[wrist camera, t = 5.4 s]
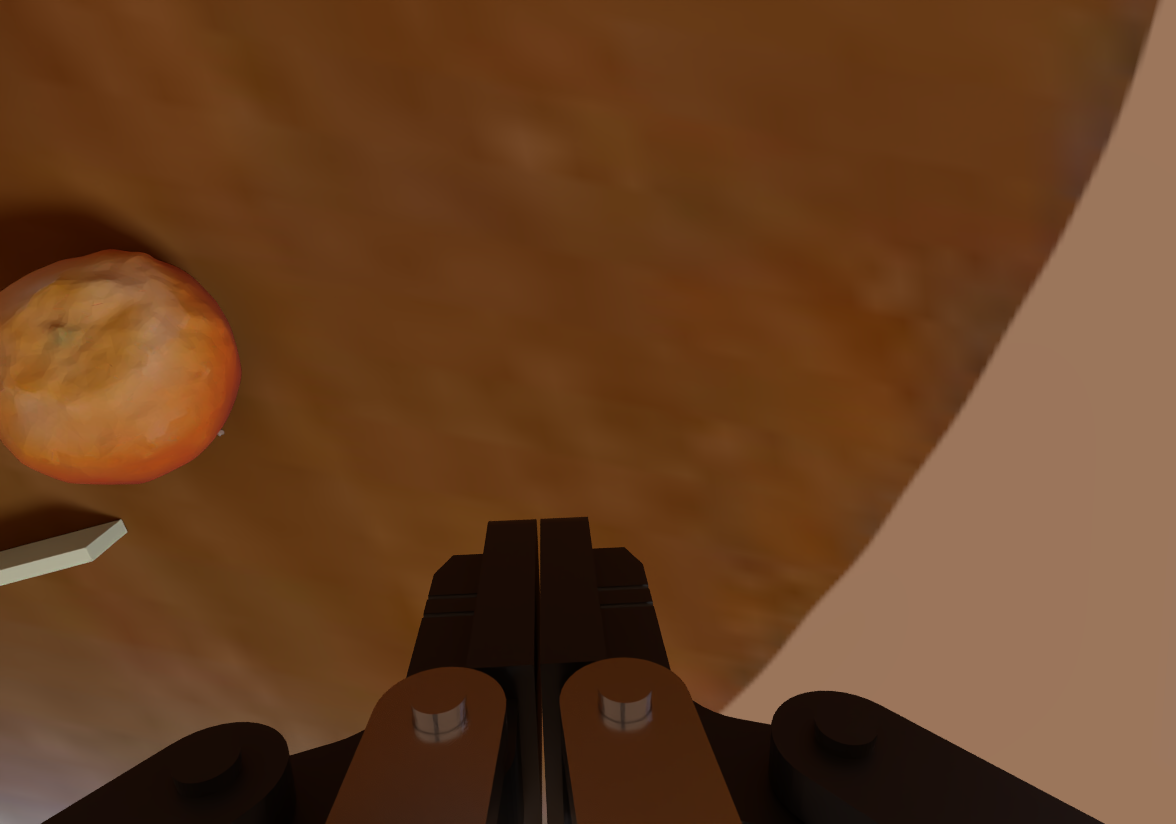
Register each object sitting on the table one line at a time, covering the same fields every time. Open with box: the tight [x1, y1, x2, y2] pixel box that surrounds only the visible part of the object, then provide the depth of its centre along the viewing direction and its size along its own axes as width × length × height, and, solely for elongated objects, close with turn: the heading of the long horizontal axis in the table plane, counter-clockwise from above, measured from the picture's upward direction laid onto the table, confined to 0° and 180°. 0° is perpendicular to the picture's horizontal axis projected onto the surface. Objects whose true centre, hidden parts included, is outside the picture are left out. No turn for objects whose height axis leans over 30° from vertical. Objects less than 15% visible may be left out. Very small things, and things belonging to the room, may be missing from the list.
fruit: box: [0, 249, 242, 484], centre depth 26 cm, size 8×8×8 cm
